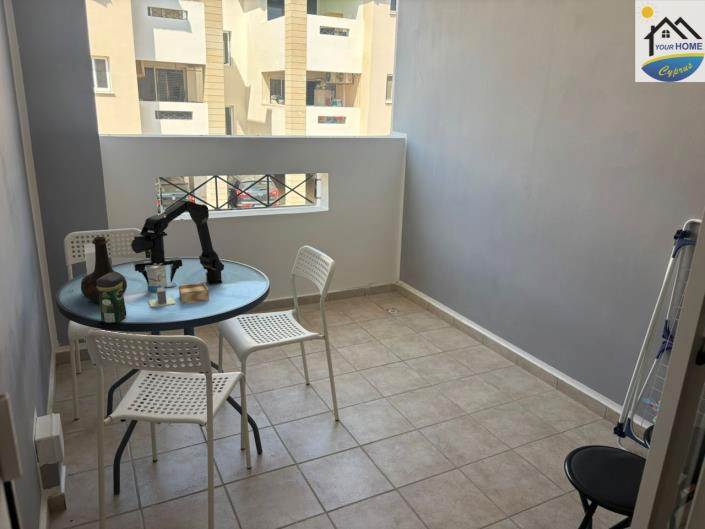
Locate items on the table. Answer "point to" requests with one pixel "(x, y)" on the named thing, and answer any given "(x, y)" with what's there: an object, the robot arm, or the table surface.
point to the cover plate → (155, 303)
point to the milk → (90, 257)
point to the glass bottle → (99, 271)
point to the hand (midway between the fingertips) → (159, 283)
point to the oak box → (193, 293)
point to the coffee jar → (111, 298)
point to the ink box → (156, 277)
